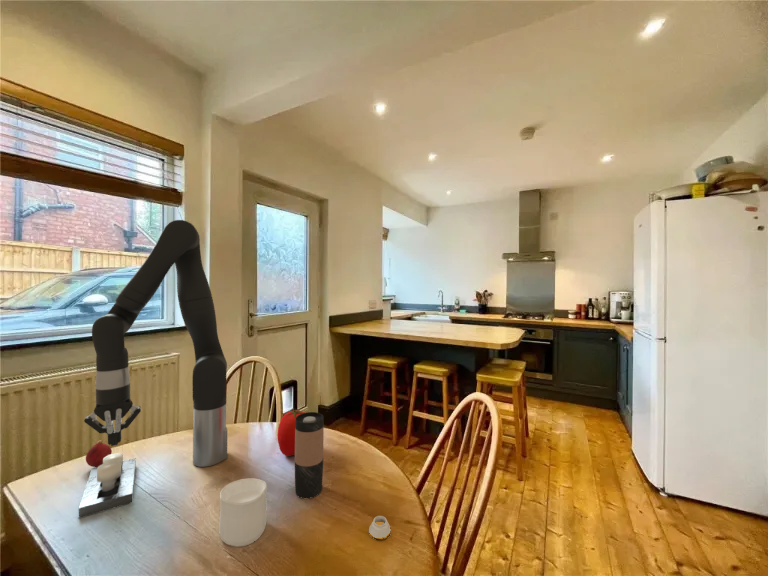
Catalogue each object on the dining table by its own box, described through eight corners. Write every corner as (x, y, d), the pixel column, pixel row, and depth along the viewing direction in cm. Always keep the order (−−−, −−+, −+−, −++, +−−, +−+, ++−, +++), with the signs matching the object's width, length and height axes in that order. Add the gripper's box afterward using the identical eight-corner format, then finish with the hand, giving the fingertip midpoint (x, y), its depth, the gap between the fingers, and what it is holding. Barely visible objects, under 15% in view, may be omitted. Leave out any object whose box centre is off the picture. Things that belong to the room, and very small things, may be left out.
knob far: (123, 470, 96) (123, 451, 96) (122, 478, 93) (122, 457, 92) (103, 475, 94) (103, 455, 94) (101, 483, 90) (102, 462, 90)
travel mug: (328, 486, 91) (329, 414, 91) (311, 502, 84) (312, 425, 84) (306, 479, 94) (307, 410, 94) (288, 494, 87) (289, 419, 87)
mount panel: (135, 465, 99) (135, 458, 99) (132, 502, 83) (132, 493, 83) (91, 476, 93) (91, 468, 93) (78, 518, 77) (78, 508, 77)
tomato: (299, 440, 117) (299, 401, 117) (321, 450, 110) (322, 408, 110) (268, 455, 107) (269, 412, 107) (291, 467, 100) (291, 421, 100)
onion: (96, 474, 95) (96, 446, 95) (80, 471, 96) (80, 444, 96) (116, 463, 100) (116, 437, 100) (101, 461, 102) (101, 435, 101)
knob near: (120, 481, 86) (120, 459, 86) (118, 489, 83) (118, 467, 83) (98, 486, 84) (98, 464, 84) (95, 496, 80) (95, 472, 80)
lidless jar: (364, 533, 74) (380, 545, 71) (364, 520, 74) (380, 532, 71) (379, 521, 78) (395, 533, 75) (379, 509, 78) (395, 520, 75)
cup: (265, 543, 71) (266, 499, 71) (214, 554, 68) (214, 507, 68) (267, 513, 80) (268, 474, 80) (222, 521, 77) (223, 480, 77)
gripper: (142, 377, 100) (143, 433, 100) (84, 385, 92) (85, 446, 92) (141, 383, 93) (143, 443, 94) (79, 392, 86) (80, 457, 86)
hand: (114, 444), depth 93 cm, fingers closed
